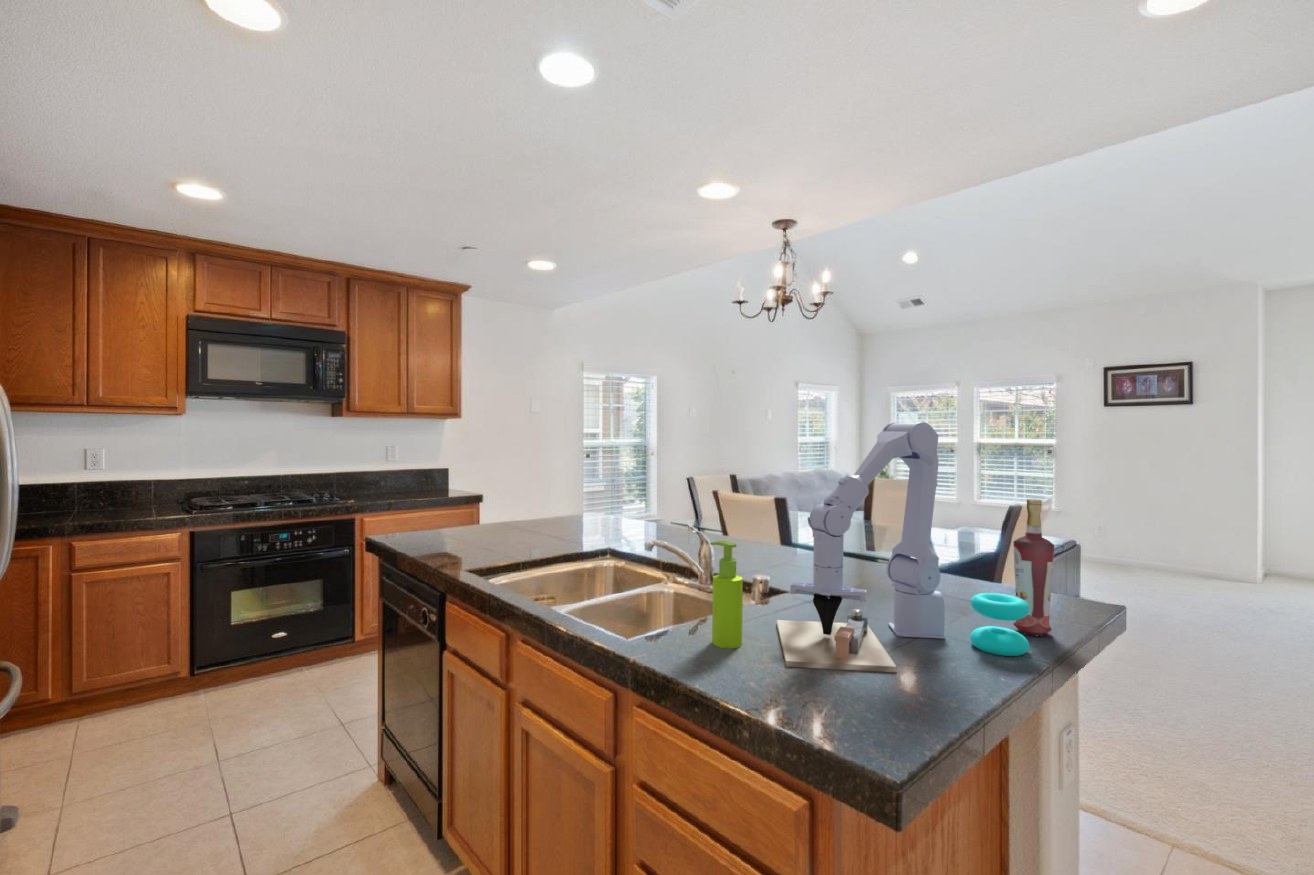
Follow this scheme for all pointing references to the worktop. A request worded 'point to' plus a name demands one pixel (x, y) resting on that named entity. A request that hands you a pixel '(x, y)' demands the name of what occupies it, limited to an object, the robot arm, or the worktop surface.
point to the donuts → (999, 637)
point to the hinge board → (829, 648)
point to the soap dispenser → (727, 601)
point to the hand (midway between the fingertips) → (827, 633)
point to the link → (857, 629)
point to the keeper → (843, 641)
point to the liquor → (1034, 573)
